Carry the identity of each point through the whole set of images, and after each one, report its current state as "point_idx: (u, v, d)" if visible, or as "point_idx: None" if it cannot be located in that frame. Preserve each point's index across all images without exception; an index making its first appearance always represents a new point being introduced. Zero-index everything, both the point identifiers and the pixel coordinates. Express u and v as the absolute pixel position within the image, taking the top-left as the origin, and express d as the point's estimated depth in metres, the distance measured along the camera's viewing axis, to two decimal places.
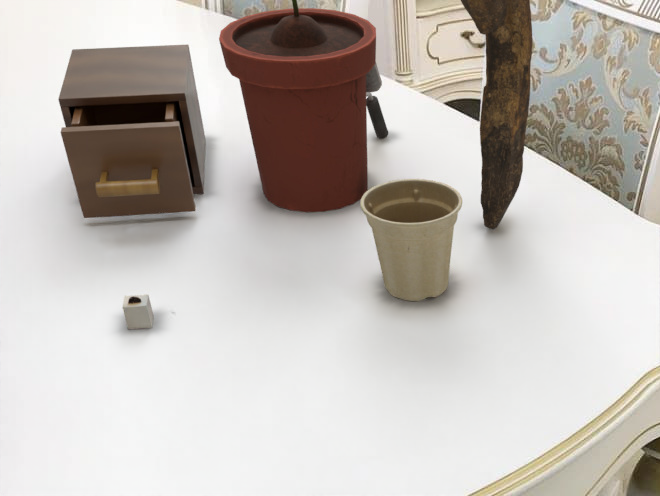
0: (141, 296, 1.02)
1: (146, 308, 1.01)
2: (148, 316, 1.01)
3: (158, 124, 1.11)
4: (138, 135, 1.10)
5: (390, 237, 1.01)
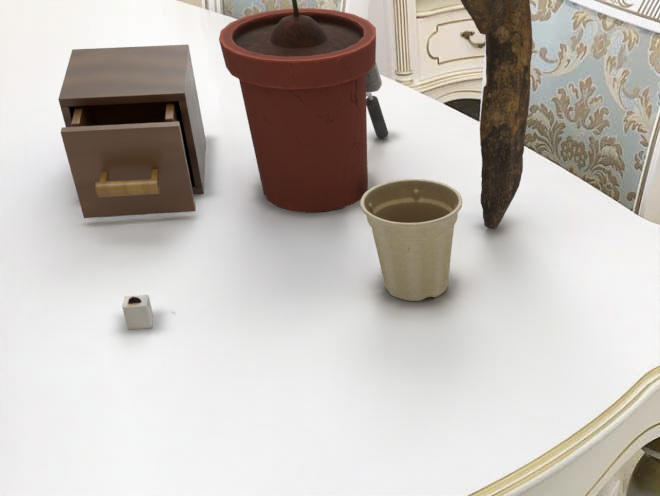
0: (141, 297, 1.02)
1: (146, 308, 1.01)
2: (148, 316, 1.01)
3: (158, 124, 1.11)
4: (138, 135, 1.10)
5: (390, 237, 1.01)
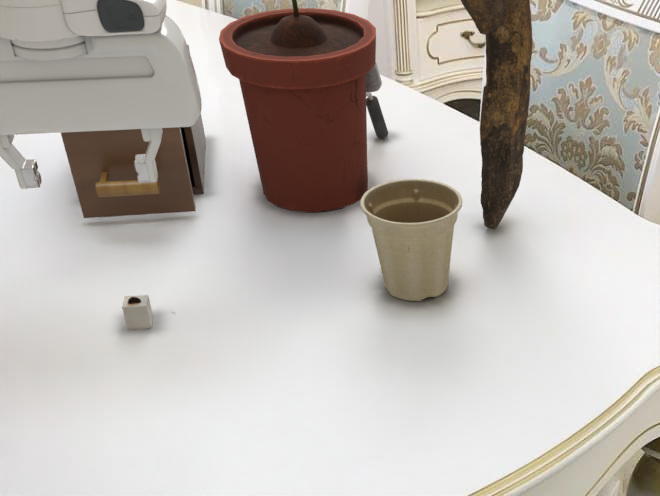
0: (140, 297, 1.02)
1: (146, 308, 1.01)
2: (148, 316, 1.01)
3: None
4: (138, 135, 1.10)
5: (390, 237, 1.01)
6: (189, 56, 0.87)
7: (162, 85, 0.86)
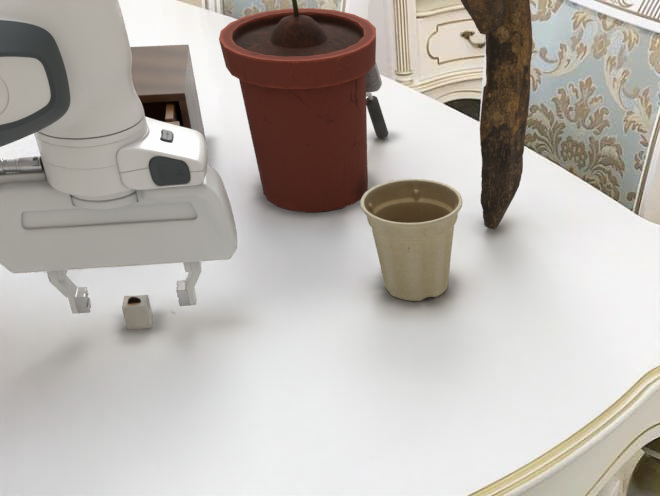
0: (140, 297, 1.02)
1: (145, 308, 1.01)
2: (147, 316, 1.01)
3: None
4: None
5: (390, 237, 1.01)
6: (227, 197, 0.97)
7: (204, 226, 0.95)
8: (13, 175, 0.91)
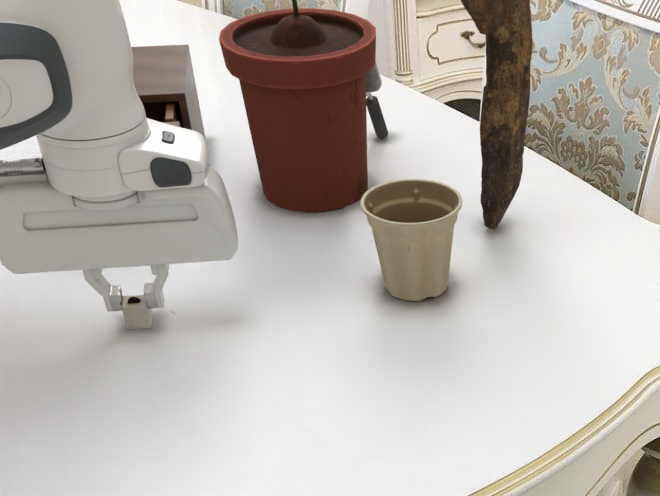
0: (140, 297, 1.02)
1: (145, 308, 1.01)
2: (147, 316, 1.01)
3: None
4: None
5: (390, 237, 1.01)
6: (228, 198, 0.97)
7: (205, 226, 0.96)
8: (15, 176, 0.92)
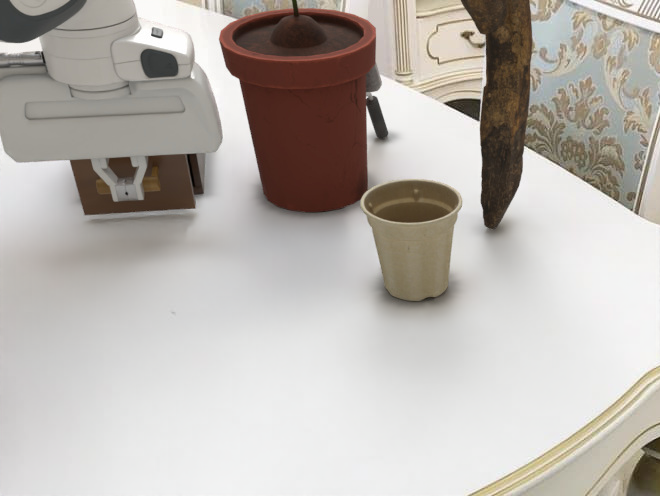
0: None
1: None
2: None
3: None
4: None
5: (390, 237, 1.01)
6: (212, 94, 1.06)
7: (191, 119, 1.04)
8: (17, 68, 1.00)
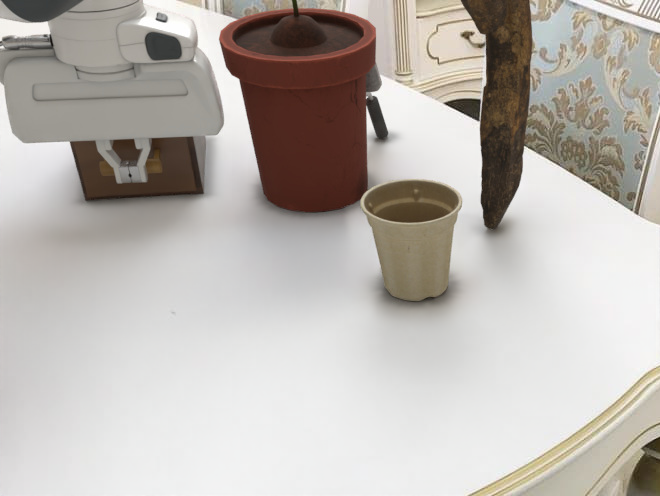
0: None
1: None
2: None
3: None
4: None
5: (390, 237, 1.01)
6: (215, 79, 1.09)
7: (194, 102, 1.08)
8: (26, 50, 1.03)
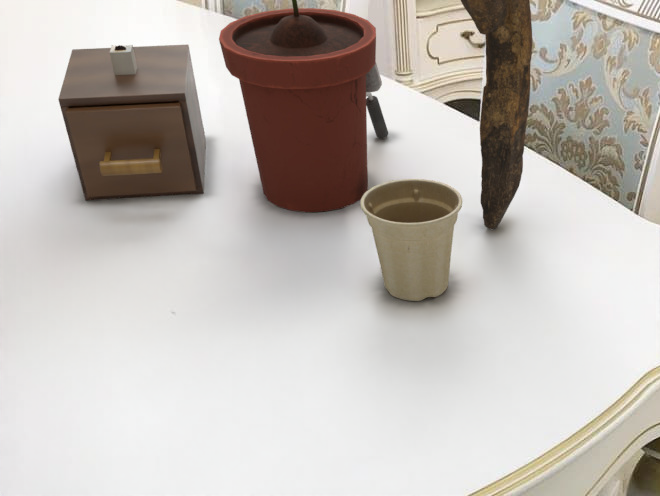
0: (126, 46, 1.17)
1: (130, 54, 1.16)
2: (132, 62, 1.17)
3: (160, 105, 1.14)
4: (141, 116, 1.14)
5: (390, 237, 1.01)
6: None
7: None
8: None
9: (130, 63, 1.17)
